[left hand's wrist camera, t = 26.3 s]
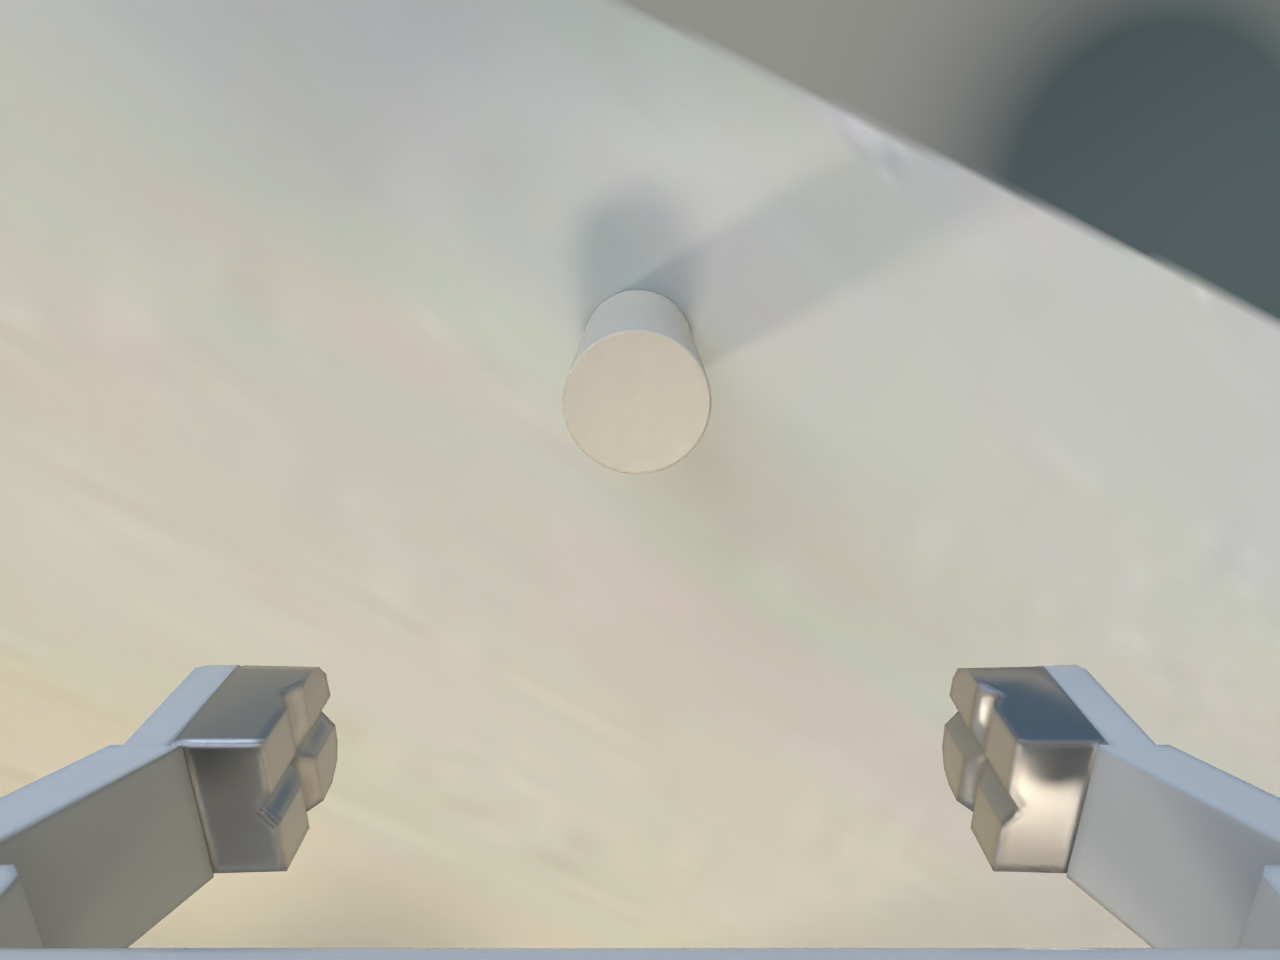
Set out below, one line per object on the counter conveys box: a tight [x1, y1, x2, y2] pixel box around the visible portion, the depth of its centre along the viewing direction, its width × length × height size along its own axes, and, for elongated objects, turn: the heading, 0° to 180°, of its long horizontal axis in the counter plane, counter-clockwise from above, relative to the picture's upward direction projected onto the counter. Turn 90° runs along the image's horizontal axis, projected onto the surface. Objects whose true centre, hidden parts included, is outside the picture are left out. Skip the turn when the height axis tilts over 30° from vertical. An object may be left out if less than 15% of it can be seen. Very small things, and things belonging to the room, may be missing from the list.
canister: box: [563, 290, 711, 474], centre depth 29 cm, size 5×5×10 cm
